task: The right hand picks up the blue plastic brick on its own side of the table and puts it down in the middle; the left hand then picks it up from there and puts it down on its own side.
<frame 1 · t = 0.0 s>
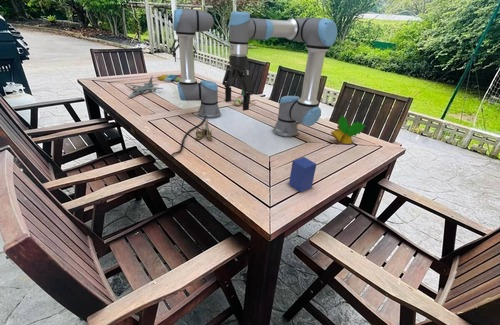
left hand: (184, 61, 211), 28 cm above the table, tool pointing down, fingers open, 13 cm apart
right hand: (236, 105, 117), 28 cm above the table, tool pointing down, fingers open, 13 cm apart
airplane: (144, 92, 226), on the table
ornament: (345, 141, 161), on the table
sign: (171, 78, 279), on the table
brick: (300, 185, 114), on the table
toy: (241, 101, 221), on the table
jawbone: (204, 137, 153), on the table
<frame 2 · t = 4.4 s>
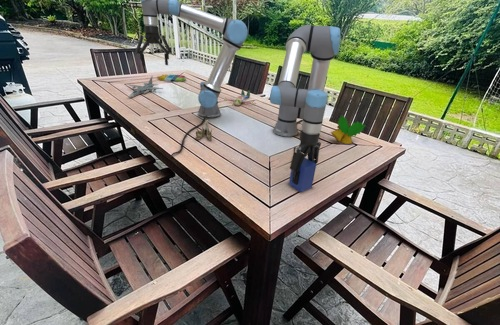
left hand: (155, 65, 156), 34 cm above the table, tool pointing down, fingers open, 13 cm apart
right hand: (301, 180, 113), 3 cm above the table, tool pointing down, fingers closed on brick, 7 cm apart
brick: (300, 185, 114), on the table, touching right hand
everything else where it was.
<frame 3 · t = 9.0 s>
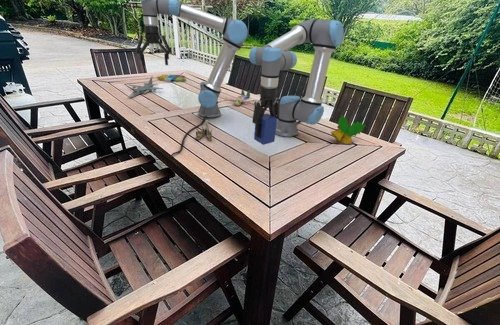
left hand: (155, 65, 156), 34 cm above the table, tool pointing down, fingers open, 13 cm apart
right hand: (264, 135, 124), 14 cm above the table, tool pointing down, fingers closed on brick, 7 cm apart
brick: (264, 140, 126), point 12 cm above the table, touching right hand
everything else where it was.
when the right hand's fingers open (4 cm above the table, at t = 13.8 s): brick drops 2 cm, on the table.
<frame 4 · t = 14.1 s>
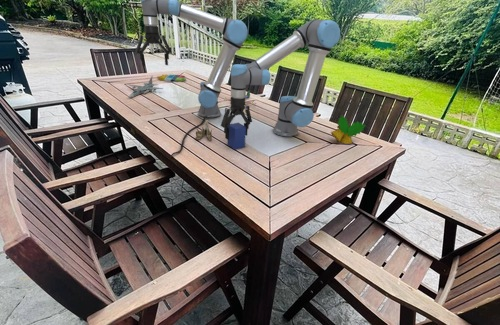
left hand: (155, 65, 156), 34 cm above the table, tool pointing down, fingers open, 13 cm apart
right hand: (236, 136, 143), 5 cm above the table, tool pointing down, fingers open, 11 cm apart
brick: (236, 145, 145), on the table
everything else where it was.
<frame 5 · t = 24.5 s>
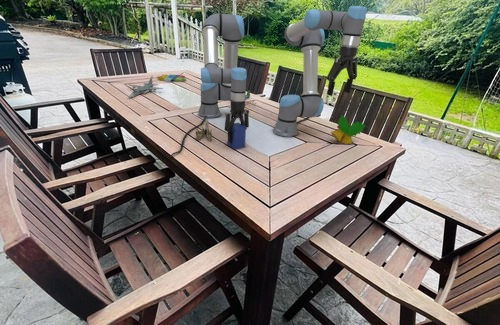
left hand: (236, 141, 144), 3 cm above the table, tool pointing down, fingers closed on brick, 7 cm apart
right hand: (338, 93, 127), 33 cm above the table, tool pointing down, fingers open, 13 cm apart
brick: (236, 145, 145), on the table, touching left hand
everything else where it was.
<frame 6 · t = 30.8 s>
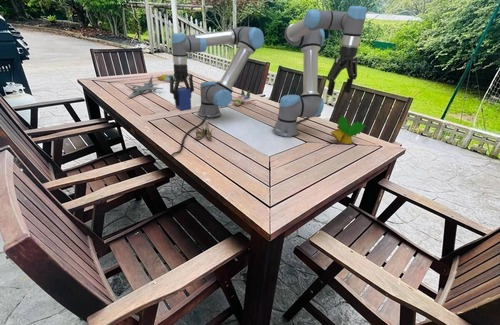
left hand: (183, 104, 158), 15 cm above the table, tool pointing down, fingers closed on brick, 7 cm apart
right hand: (338, 93, 127), 33 cm above the table, tool pointing down, fingers open, 13 cm apart
brick: (183, 108, 159), point 12 cm above the table, touching left hand
everything else where it was.
when the left hand's fingers open (4 cm above the table, at t = 37.2 s): brick drops 2 cm, on the table.
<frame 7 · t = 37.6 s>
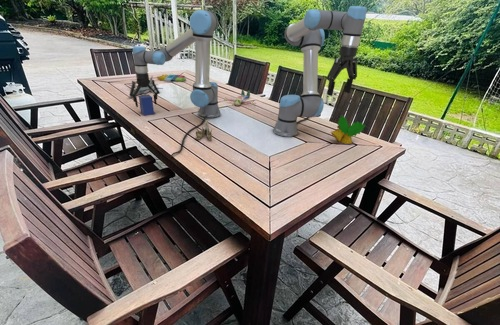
left hand: (146, 105, 179), 6 cm above the table, tool pointing down, fingers open, 12 cm apart
right hand: (338, 93, 127), 33 cm above the table, tool pointing down, fingers open, 13 cm apart
brick: (147, 113, 182), on the table
everything else where it was.
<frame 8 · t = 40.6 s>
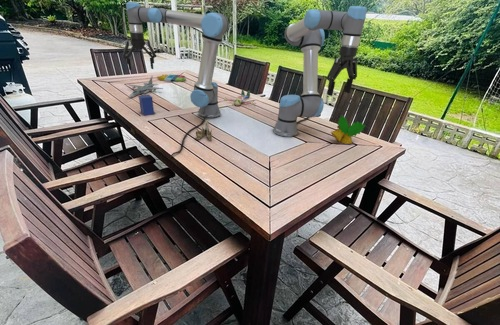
left hand: (141, 69, 167), 29 cm above the table, tool pointing down, fingers open, 13 cm apart
right hand: (338, 93, 127), 33 cm above the table, tool pointing down, fingers open, 13 cm apart
nothing on the table moved.
at the end: brick inside the target area (0.1 cm from its centre), on the table; brick tilted 0°; the two hands never held the brick at the same time; the left hand is holding nothing; the right hand is holding nothing; brick at rest at the end (0.0 cm/s) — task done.
